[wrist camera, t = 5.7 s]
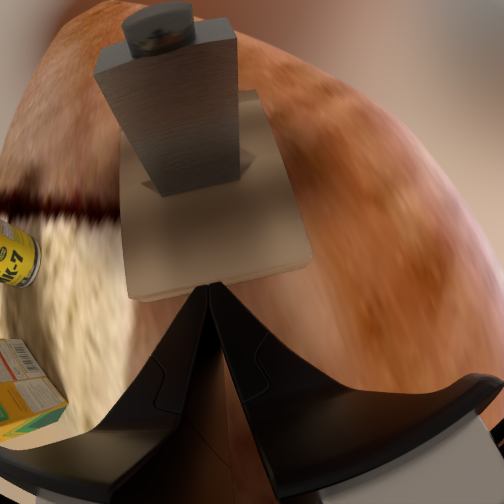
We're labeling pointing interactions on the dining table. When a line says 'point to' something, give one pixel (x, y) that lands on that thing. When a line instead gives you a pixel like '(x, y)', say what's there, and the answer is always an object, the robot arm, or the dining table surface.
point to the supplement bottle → (17, 256)
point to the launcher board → (212, 220)
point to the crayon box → (25, 392)
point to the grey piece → (176, 95)
